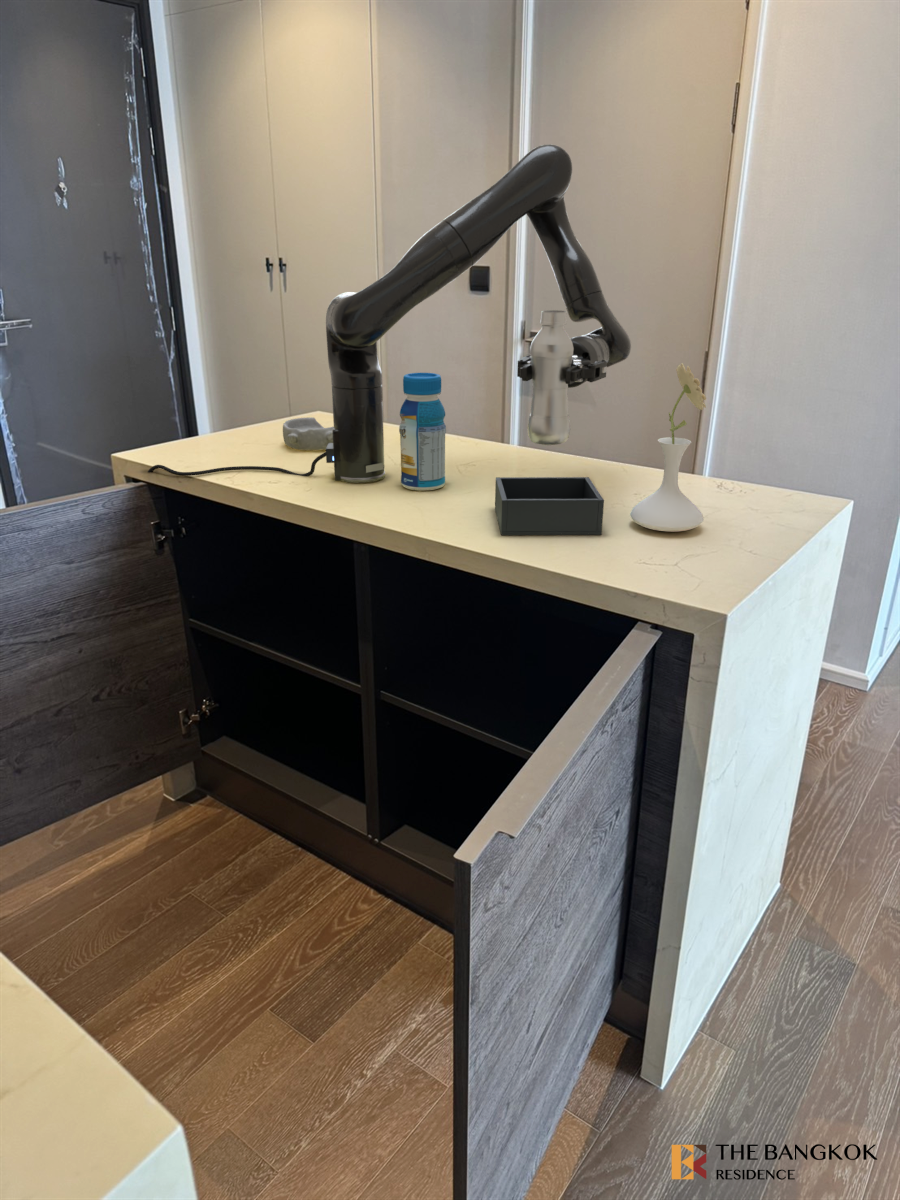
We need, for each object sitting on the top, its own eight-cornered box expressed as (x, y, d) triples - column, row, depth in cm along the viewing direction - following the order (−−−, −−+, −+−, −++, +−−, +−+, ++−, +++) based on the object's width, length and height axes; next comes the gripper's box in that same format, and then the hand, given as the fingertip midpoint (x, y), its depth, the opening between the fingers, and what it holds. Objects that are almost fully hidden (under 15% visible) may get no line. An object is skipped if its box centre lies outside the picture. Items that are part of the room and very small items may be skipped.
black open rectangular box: (501, 535, 133) (502, 500, 131) (494, 509, 146) (495, 477, 143) (601, 534, 133) (604, 500, 131) (586, 509, 146) (588, 476, 144)
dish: (294, 437, 197) (292, 415, 195) (353, 439, 195) (352, 417, 193) (273, 452, 183) (271, 428, 181) (336, 454, 182) (335, 430, 180)
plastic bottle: (571, 449, 133) (579, 313, 125) (527, 449, 133) (532, 313, 125) (567, 439, 139) (574, 309, 131) (525, 439, 139) (529, 309, 131)
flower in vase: (701, 541, 131) (722, 372, 121) (625, 534, 134) (640, 369, 124) (702, 516, 142) (722, 360, 133) (632, 510, 145) (646, 357, 136)
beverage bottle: (439, 493, 155) (439, 379, 147) (394, 490, 156) (391, 377, 149) (450, 481, 162) (451, 372, 154) (407, 478, 164) (406, 370, 156)
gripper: (536, 335, 145) (501, 347, 131) (620, 339, 140) (594, 352, 125) (534, 381, 148) (500, 397, 134) (617, 386, 143) (591, 404, 128)
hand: (546, 375), depth 130 cm, fingers closed on plastic bottle, 6 cm apart
